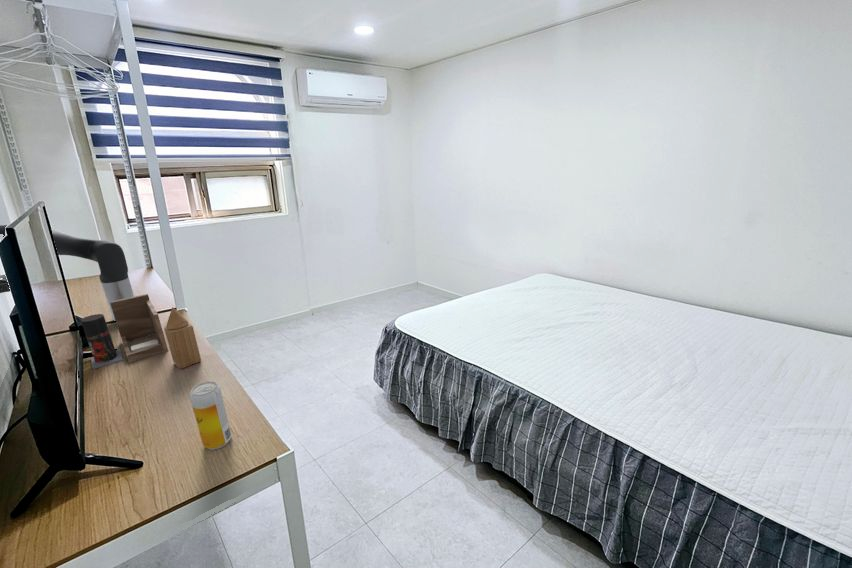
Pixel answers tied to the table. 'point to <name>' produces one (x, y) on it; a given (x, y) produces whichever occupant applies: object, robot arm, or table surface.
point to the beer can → (210, 415)
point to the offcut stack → (144, 345)
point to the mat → (117, 359)
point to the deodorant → (98, 338)
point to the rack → (138, 324)
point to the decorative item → (181, 340)
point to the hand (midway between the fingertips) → (40, 277)
